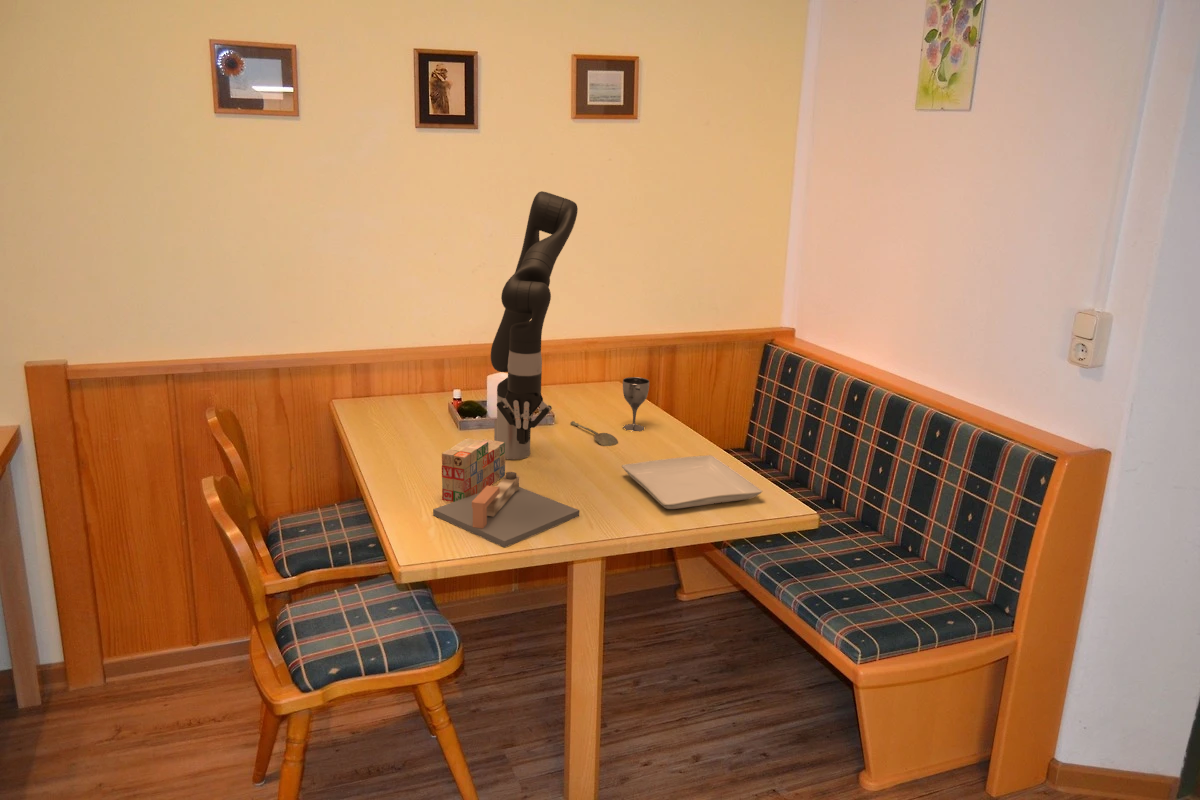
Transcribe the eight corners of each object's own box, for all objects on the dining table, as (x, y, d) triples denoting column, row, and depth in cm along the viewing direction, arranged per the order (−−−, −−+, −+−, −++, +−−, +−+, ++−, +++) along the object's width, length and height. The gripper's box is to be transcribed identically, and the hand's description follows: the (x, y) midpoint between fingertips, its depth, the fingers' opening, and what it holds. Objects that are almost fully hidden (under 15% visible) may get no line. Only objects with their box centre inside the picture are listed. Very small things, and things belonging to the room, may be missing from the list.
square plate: (619, 477, 243) (619, 463, 242) (711, 466, 253) (712, 453, 252) (663, 517, 219) (664, 502, 218) (763, 504, 229) (764, 489, 228)
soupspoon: (602, 451, 264) (621, 448, 268) (603, 440, 263) (622, 437, 267) (563, 426, 281) (581, 424, 285) (564, 416, 280) (582, 414, 284)
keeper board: (432, 515, 214) (432, 485, 212) (508, 488, 232) (508, 460, 230) (504, 547, 199) (504, 515, 197) (579, 516, 217) (580, 486, 215)
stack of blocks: (484, 471, 242) (484, 427, 239) (505, 475, 240) (505, 430, 237) (441, 500, 223) (441, 452, 220) (464, 504, 221) (464, 456, 218)
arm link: (505, 485, 229) (505, 470, 228) (521, 487, 228) (521, 471, 227) (479, 514, 211) (479, 498, 210) (495, 516, 210) (495, 500, 209)
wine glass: (651, 427, 283) (654, 380, 279) (638, 433, 277) (640, 385, 272) (629, 422, 287) (631, 375, 283) (615, 428, 281) (617, 380, 277)
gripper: (558, 369, 208) (555, 441, 213) (502, 362, 211) (501, 434, 216) (548, 377, 201) (545, 452, 206) (490, 370, 204) (490, 444, 209)
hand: (523, 443), depth 211 cm, fingers closed
